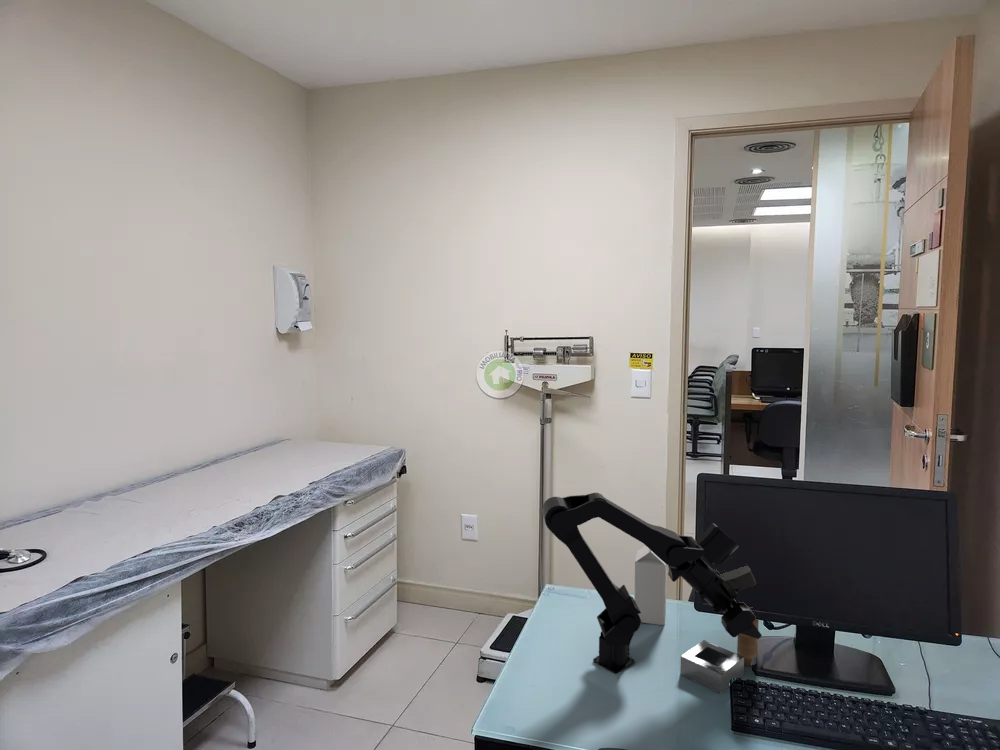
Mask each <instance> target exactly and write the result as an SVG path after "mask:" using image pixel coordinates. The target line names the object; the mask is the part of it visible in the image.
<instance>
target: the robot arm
mask: <svg viewBox="0 0 1000 750" xmlns="http://www.w3.org/2000/svg"><path fill="white" fill-rule="evenodd" d="M541 514H542V517H543V520H544V523H545V526H546V528H547V529H548V530H549V531H550V532H551V534H553V535H554V537H555V538H556V539H558V540H559V541H560V542H561V543H562V544H563V545H565V546H566V547H567V549H569V551H570V553H571V555H572V556H573V557H574V558H575V560H576V562H577V563H578V565H579V566H580V568H581V570H582V571H583V572H584V574H585V576H586V577H587V578H588V580H589V581H590V583H591V585H592V586H593V587H594V589H595V590H596V592H597V594H598V595H599V597H600V598H601V599H602V601H603V602H602V603H603V604H604V607H605V608H604V609H603V610H602V611H601V612H600V613H599V614H598V615H597V616H596V620H597V622H598V624H599V627H600V630H601V632H600V636H599V637H598V656H597V655H596V657H594V658H593V659H592V662H593V663H595V664H596V665H598V666H601V667H603V668H604V669H606V670H608V671H610V672H611V673H614V674H616V675H617V674H620V673H621V672H623V671H624V670H626V669H627V668H629V667H630V666H631V665H634V664H635V662H636V661H635V659H634V658H633V657H630V645H631V642H632V640H633V636H634V635H635V633H636V632H637V631H638V630H639V628H640V627H641V624H642V622H641V619H640V617H639V615H638V614H640V613H641V612H640V610H639V608H638V606H637V604H636V602H635V600H634V597H633V596H631V595H630V593H629V591H628V589H627V588H626V585H625V584H623V585H621V586H620V587H618V586H617V585H616V584H615V583H614V582H613V581H612V579H611V578H610V576H609V574H608V573H607V572H606V570H605V568H604V567H603V566H602V564H601V563H600V561H599V559H598V558H597V556H596V554H594V552H593V550H592V549H591V547H590V546H589V544H588V543H587V541H586V540H585V538H584V536H583V535H582V534H581V532H580V530H579V527H578V526H581V525H583V524H585V523H587V522H589V521H591V520H593V519H596V518H597V519H598V518H600V519H601V520H603V521H604V522H606V523H608V524H610V525H611V526H614V528H617V529H618V530H620V531H622V532H623V533H625V534H627V535H629V536H630V537H632V538H633V539H635V540H637V541H638V542H640V543H642V544H644V546H645V545H646V546H647V547H648V548H649V549H650V550H651V551H652V552H653V553H654V554H655V555H656V556H658V557H659V558H660V559H661V560H662V561H663V562H665V563H666V564H667V567H668V568H667V569H668V573H667V575H668V576H669V579H670V580H671V581H672V582H673V583H675V582H676V581H677V580H678V579H680V577H681V578H682V579H683V580H684V581H685V582H686V583H687V584H688V585H689V586H690V587H691V589H693V590H694V591H695V592H696V593H697V595H698V596H699V598H701V600H705V601H706V602H707V603H708V605H710V607H711V608H712V610H713V611H714V612H715V613H716V614H718V613H719V612H720V611H721V610H722V611H721V612H722V613H724V614H723V615H721V619H720V620H721V622H720V623H721V624H722V626H723V628H724V630H725V632H727V634H729V636H731V638H736V637H738V635H739V634H740V633H741V634H744V635H747V636H750V637H753V638H756V639H758V640H759V639H760V638H762V634H761V632H760V630H759V628H758V629H757V628H756V626H755V625H754V623H753V621H754V620H755V618H756V616H755V615H754V613H753V612H752V610H751V609H750V608H749V606H747V605H746V604H745V603H744V602H739V601H738V602H736V600H735V598H736V597H737V598H738V597H739V593H738V592H740V591H742V590H745V589H747V588H749V587H751V588H752V587H754V586H756V584H757V580H756V579H755V578H756V577H755V576H754V574H753V572H752V569H751V568H750V567H749V566H748V565H747V566H744V567H740V568H738V569H734V570H732V571H729V572H725V573H723V574H720V573H719V572H720V571H718V570H717V569H716V570H715V569H714V568H712V567H711V566H712V565H714V564H715V565H716V566H717V567H718V566H720V565H721V564H723V562H725V561H726V560H727V558H729V557H730V556H731V555H732V554H733V553H734V552H735V551H736V550H737V549H738V548H739V546H740V545H738V544H737V543H736V542H735V541H734V539H733V538H731V537H730V536H729V535H728V534H727V533H726V532H725V531H723V529H720V527H718V526H717V525H716V524H715V523H711V524H710V525H709V526H708V527H707V529H706V530H705V532H703V533H702V534H701V535H700V536H699V537H698V538H697V539H695V538H694V537H693V536H691V535H690V536H689V535H680V534H678V533H676V531H673V530H671V529H668V528H665V527H664V526H663V527H662V526H660V525H654V524H651V523H648V522H646V521H645V520H644V519H641V518H640V517H638V516H636V515H635V514H634V513H631V511H628V510H627V509H625V508H623V507H621V506H620V505H618V504H617V503H614V502H613V501H611V500H609V499H607V498H606V497H604V495H603V494H602V493H599V492H591V493H587V494H580V495H579V494H578V495H569V496H565V497H560V496H551V497H550V498H547V499H546V500H545V501H544V502H543V504H542V507H541ZM702 556H703V557H704V559H706V560H707V562H708V563H710V564H711V566H709V564H708V563H707V562H705V560H703V558H702ZM695 560H696V564H695ZM713 569H714V570H713ZM736 591H737V592H736ZM731 603H732V604H731ZM732 605H733V606H732ZM726 608H727V609H726ZM727 610H728V611H727ZM726 611H727V612H726ZM725 612H726V613H725Z"/></svg>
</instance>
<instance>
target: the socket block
mask: <svg viewBox="0 0 1000 750" xmlns="http://www.w3.org/2000/svg"><path fill="white" fill-rule="evenodd" d="M744 669H745V665H744V657H743V656H741V655H738V654H737V652H733V651H730V650H729V649H726V648H725V647H721V646H720V645H717V644H715V643H711V642H710V641H708V640H705V639H703V640H702V641H700V642H699V643H697V644H695V646H693V647H692V648H690V649H688V650H687V651H686V652H685V653H683V654H682V655H680V672H679V673H680V675H681V676H683V677H685V678H687V679H690V680H691V681H694V682H695V683H698V684H699V685H702V686H704V687H706V688H708V689H710V690H711V691H715V692H716V693H718V694H721V695H722V694H723V693H724V692H725V691H727V690H728V689H729V688H730V687H729V683H730V680H731V679H732V678H740V679H741V678H743V676H744ZM728 687H729V688H728Z"/></svg>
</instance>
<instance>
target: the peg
mask: <svg viewBox="0 0 1000 750" xmlns="http://www.w3.org/2000/svg"><path fill="white" fill-rule="evenodd" d="M749 608H750V609H751V608H753V607H749ZM759 620H760V618H759V619H756V618H755V620H754V621H753V623H754V625H755V626H756V628H757V629H758V630H759V622H760V621H759ZM736 642H737V645H736V646H737V648H736V649H737V650H736V654H738V655H741V656H743V657H744V667H752V666H751V661H752V659H753V658H754V657H756V656H757V657H758V648H759V647H758V645H759V643H758V642H759V639H756V638H753V637H750V636H747V635H744V634H741V633H740V634H739V635H737V641H736Z"/></svg>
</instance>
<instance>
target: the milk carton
mask: <svg viewBox="0 0 1000 750" xmlns="http://www.w3.org/2000/svg"><path fill="white" fill-rule="evenodd" d="M667 567H668V565H667V564H666V563H665V562H663V561H662V560H661V559H660V558H659V557H658V556H656V555H655V554H654V553H653V552H652V551H651V550H650V549H649V548H648V547H647V546H646V545H645V544H644V546H643V547H640V548H639V549H638V550H637V552H636V555H635V560H634V597H633V598H634V600H635V602H636V604H637V606H638V608H639V610H640V612H641V613H640V614H638V615H639V617H640V619H641V623H644V624H651V625H658V626H659V625H660V626H665V625H666V624H665V623H666V613H667V575H668V573H667V570H668V568H667Z"/></svg>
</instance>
